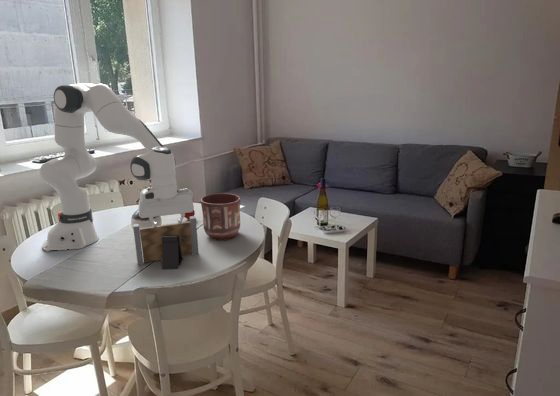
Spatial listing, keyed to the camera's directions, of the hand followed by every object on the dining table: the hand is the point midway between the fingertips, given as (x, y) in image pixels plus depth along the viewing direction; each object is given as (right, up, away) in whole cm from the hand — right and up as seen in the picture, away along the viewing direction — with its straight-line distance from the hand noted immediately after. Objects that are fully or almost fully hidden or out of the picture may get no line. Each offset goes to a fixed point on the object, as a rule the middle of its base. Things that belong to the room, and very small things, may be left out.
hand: (167, 225), depth 162 cm
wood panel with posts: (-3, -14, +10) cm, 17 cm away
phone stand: (+1, -16, +5) cm, 16 cm away
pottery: (+17, -7, +33) cm, 37 cm away
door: (-2, -14, +9) cm, 17 cm away
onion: (-3, -1, +54) cm, 54 cm away
